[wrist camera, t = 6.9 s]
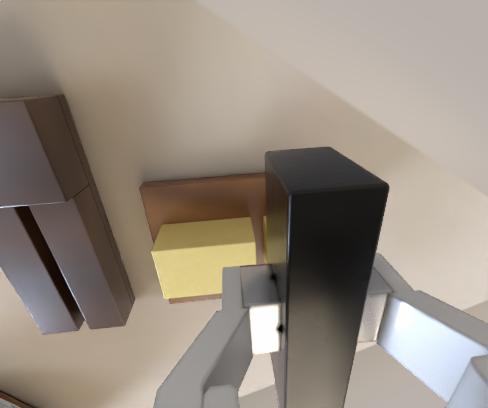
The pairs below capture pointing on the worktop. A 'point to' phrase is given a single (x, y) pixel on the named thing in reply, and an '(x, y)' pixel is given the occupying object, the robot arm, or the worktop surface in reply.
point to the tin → (10, 402)
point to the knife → (320, 267)
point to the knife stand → (56, 222)
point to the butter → (201, 254)
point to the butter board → (207, 207)
